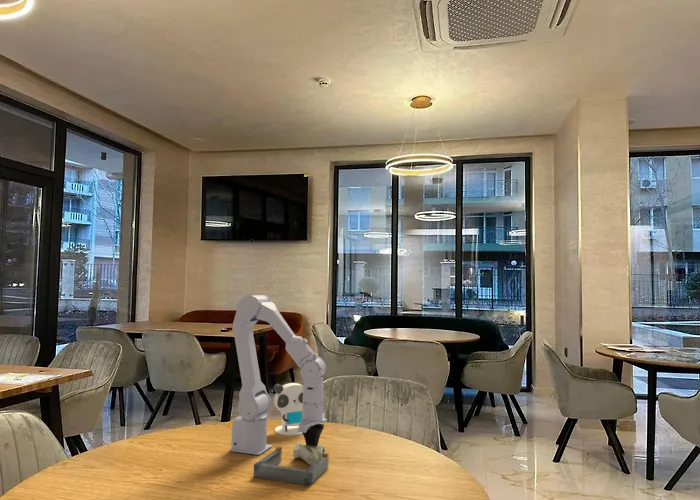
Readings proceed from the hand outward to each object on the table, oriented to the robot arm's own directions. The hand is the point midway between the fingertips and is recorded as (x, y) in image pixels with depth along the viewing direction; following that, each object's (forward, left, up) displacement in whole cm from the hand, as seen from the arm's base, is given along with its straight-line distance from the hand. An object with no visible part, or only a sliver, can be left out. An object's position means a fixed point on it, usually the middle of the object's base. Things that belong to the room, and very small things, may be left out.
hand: (311, 452), depth 134 cm
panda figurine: (-15, +20, -1) cm, 25 cm away
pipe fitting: (+1, -4, -1) cm, 5 cm away
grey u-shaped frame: (0, -12, -1) cm, 12 cm away
